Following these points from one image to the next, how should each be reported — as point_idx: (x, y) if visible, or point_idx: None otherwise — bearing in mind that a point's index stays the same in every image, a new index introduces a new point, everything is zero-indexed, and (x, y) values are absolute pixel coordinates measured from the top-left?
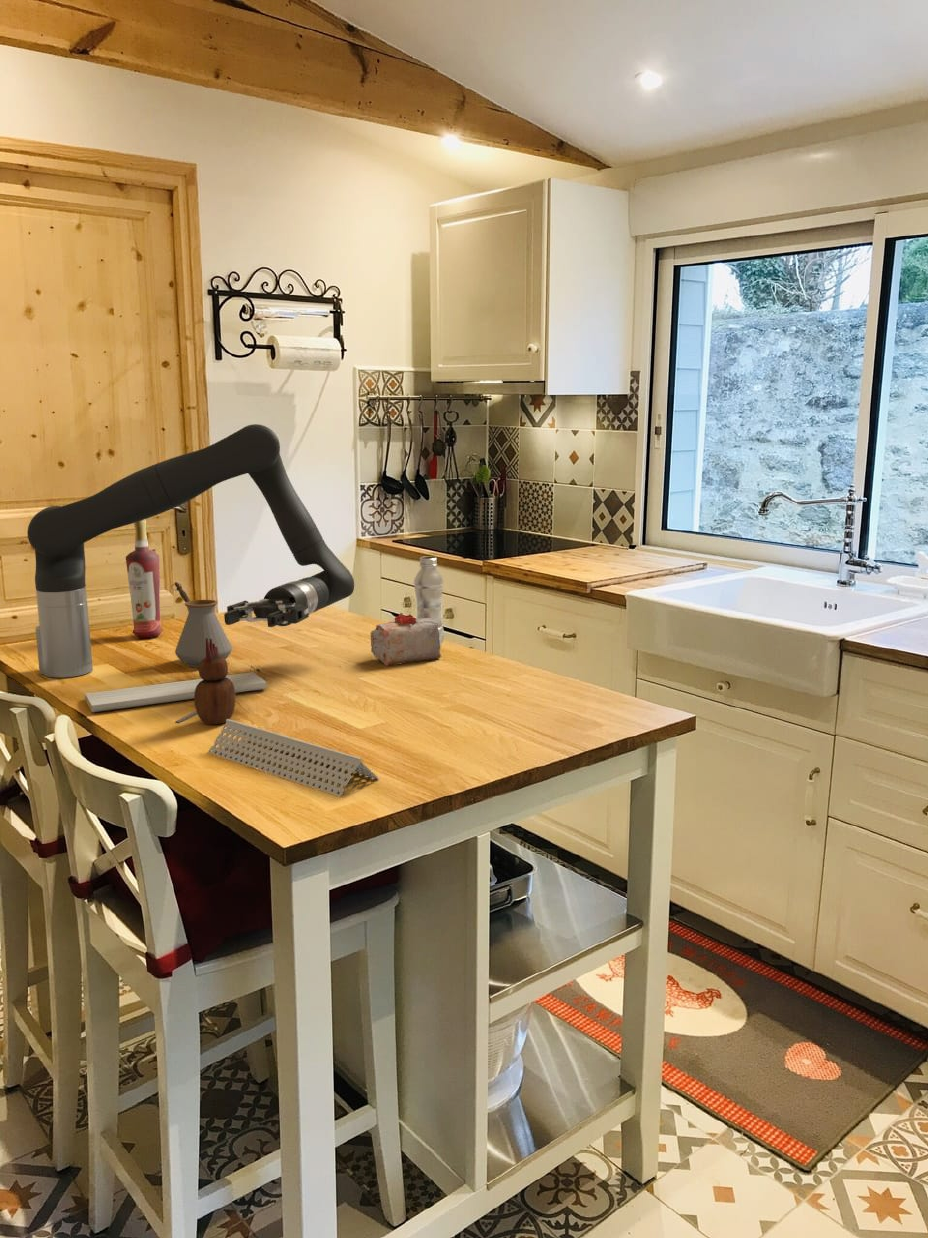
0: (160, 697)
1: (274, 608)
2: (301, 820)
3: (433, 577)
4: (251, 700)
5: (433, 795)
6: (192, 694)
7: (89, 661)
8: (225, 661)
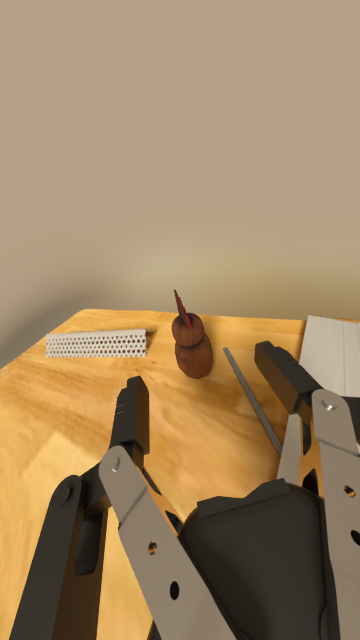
0: (299, 361)
1: (192, 519)
2: (81, 317)
3: None
4: (233, 456)
5: (19, 357)
6: None
7: None
8: (173, 330)
